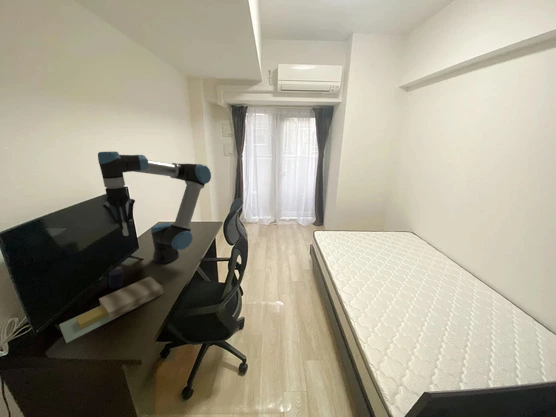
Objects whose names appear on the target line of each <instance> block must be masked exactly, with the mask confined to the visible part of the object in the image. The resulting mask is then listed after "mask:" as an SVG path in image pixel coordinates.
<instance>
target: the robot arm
mask: <svg viewBox="0 0 556 417" xmlns="http://www.w3.org/2000/svg"><path fill="white" fill-rule="evenodd" d="M97 160H98V164H99V167H100V172H101V176H102V181H103V185H104V190H105V194H106V202H104V203H102V204H101V207H102V208H103V209H104V210H106V213H107V214H108V216H109V218H110V220H111V221H112V222H113V224H118V229H119V230H121V232H122V235H123V236H125V237H128V236H129V228H130V223H129V222H130V221H131V220H133V214H134V204H135V203H136V200H135V199H133V198H130V197H129V196H128V193H127V188H126V182H125V178H124V173H129V172H133V173H142V174H150V175H159V176H163V177H164V176H166V177H169V178H171V179H177V180H181V181H184V183H185V184H186V186H185V190H184V192H183V195H182V199H181V203H180V205H179V209H178V210H177V211H178V212H177V215H176V218H175V221H174V222H173V223H171V222H162V223H158V224H156V225H153V226H152V227H151V228H150V232H151V233H150V234H151V238H152V244H153V248H154V249H153V256H152V261H153V262H154V264H158V265H159V264H160V265H163V264H169V263H171V262H174V261H176V260H177V259H178V258H179V256H180V253H179V251H181V250H182V251H183V250H186V249H187V248H189V246H190V245H191V243H192V242H193V234H192V228H191V226H190V225H191V222H192V219H193V216H194V212H195V209H196V206H197V203H198V200H199V199H198V198H199V196H200V192H201V190H202V189H204V188H205V185H206V184H208V183H210V182H211V179H212V172H211V170H210V168H209V167H208V166H207V165H205V164H201V163H176V162H171V163H166V162H161V161H156V160H150V159H148V158H147V157H146V156H145V154H144V155H143V154H119V152H118V151H99V152H98V153H97ZM127 204H128V208H127V206H126V205H127ZM110 205H111V206H112V207H113V209H114V213H115V215H114V213H113V211H112V209H111V208H110ZM120 210H121V211H120ZM121 214H122V215H121ZM122 220H123V221H122Z"/></svg>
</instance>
